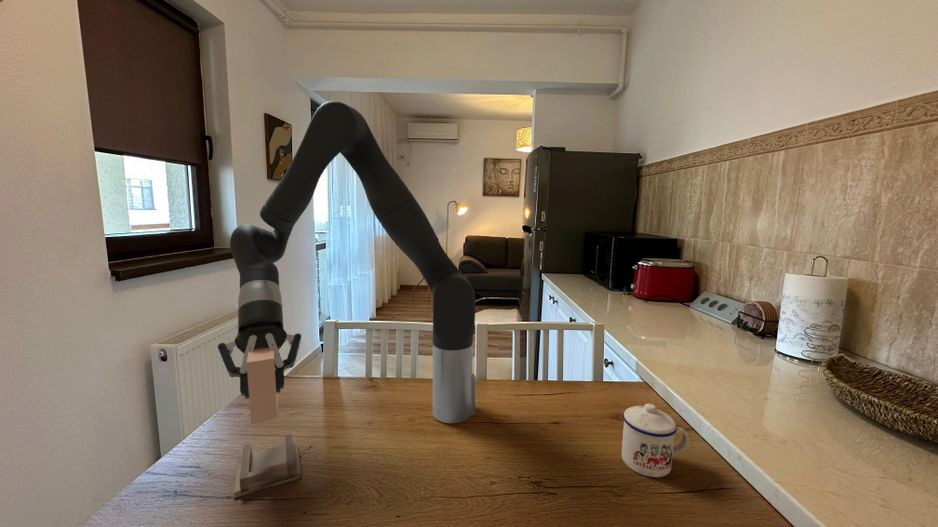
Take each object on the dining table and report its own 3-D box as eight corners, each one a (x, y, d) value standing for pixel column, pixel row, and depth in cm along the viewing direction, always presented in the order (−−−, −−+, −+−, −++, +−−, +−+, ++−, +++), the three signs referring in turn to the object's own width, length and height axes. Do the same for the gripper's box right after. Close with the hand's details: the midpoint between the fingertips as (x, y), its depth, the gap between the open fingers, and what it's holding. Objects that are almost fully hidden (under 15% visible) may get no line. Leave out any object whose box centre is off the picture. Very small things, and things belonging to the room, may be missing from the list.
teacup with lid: (630, 478, 66) (635, 418, 64) (613, 446, 75) (617, 392, 73) (698, 481, 65) (705, 420, 64) (673, 448, 74) (678, 395, 73)
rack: (297, 446, 74) (296, 432, 73) (301, 477, 65) (300, 462, 65) (239, 461, 69) (238, 446, 69) (234, 497, 60) (233, 481, 60)
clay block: (277, 402, 69) (273, 346, 67) (277, 418, 64) (274, 358, 62) (252, 407, 67) (248, 350, 66) (251, 424, 62) (246, 362, 60)
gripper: (213, 302, 66) (209, 395, 57) (300, 294, 73) (308, 377, 64) (219, 322, 71) (216, 410, 62) (300, 314, 78) (307, 392, 69)
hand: (263, 393), depth 63 cm, fingers closed on clay block, 4 cm apart
